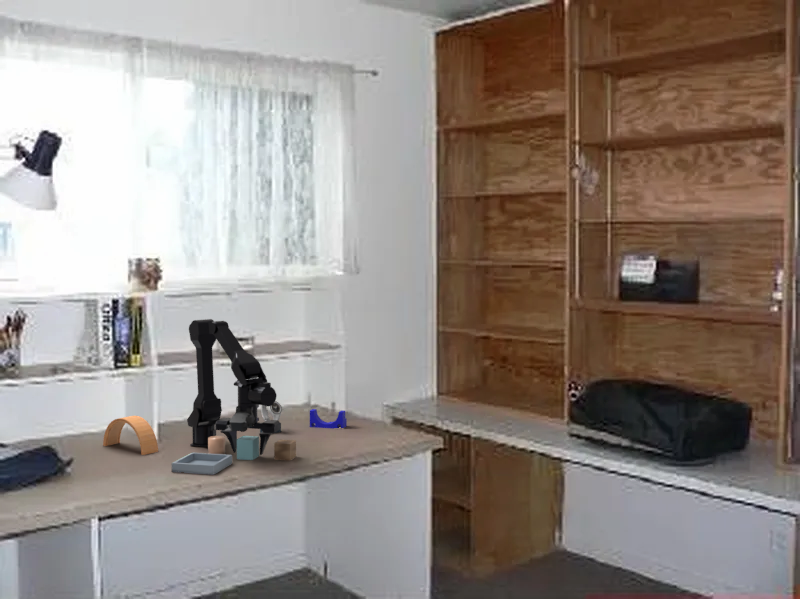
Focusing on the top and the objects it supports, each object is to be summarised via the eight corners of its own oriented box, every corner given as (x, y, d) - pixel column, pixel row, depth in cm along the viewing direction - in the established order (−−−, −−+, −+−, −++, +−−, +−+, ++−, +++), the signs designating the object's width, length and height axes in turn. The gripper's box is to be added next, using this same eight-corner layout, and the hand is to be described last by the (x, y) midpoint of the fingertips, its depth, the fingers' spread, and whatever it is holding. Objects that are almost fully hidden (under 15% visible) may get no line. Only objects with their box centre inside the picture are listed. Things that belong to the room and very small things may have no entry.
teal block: (236, 459, 258) (236, 439, 258) (243, 455, 263) (243, 435, 263) (252, 460, 257) (252, 440, 257) (259, 456, 262) (259, 436, 262)
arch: (142, 455, 262) (141, 423, 262) (103, 446, 274) (102, 414, 274) (158, 452, 267) (157, 419, 266) (118, 442, 279) (118, 411, 278)
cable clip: (346, 426, 305) (346, 409, 304) (342, 429, 300) (342, 412, 300) (313, 425, 307) (313, 408, 307) (309, 427, 303) (309, 410, 302)
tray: (171, 471, 243) (171, 463, 243) (192, 460, 256) (192, 452, 256) (213, 474, 241) (213, 465, 240) (232, 463, 253) (232, 454, 253)
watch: (271, 435, 290) (271, 402, 289) (256, 431, 295) (256, 399, 294) (284, 432, 294) (284, 400, 293) (270, 429, 299) (269, 397, 299)
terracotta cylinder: (205, 455, 263) (205, 439, 262) (212, 451, 267) (212, 435, 267) (220, 456, 261) (220, 439, 261) (227, 452, 266) (227, 436, 266)
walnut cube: (274, 459, 258) (274, 443, 257) (280, 455, 263) (280, 439, 262) (290, 460, 257) (290, 444, 256) (296, 456, 261) (296, 440, 261)
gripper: (206, 405, 253) (207, 458, 254) (267, 408, 249) (267, 462, 250) (222, 398, 264) (223, 449, 265) (280, 401, 260) (281, 453, 261)
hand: (248, 453), depth 260 cm, fingers open, 8 cm apart
